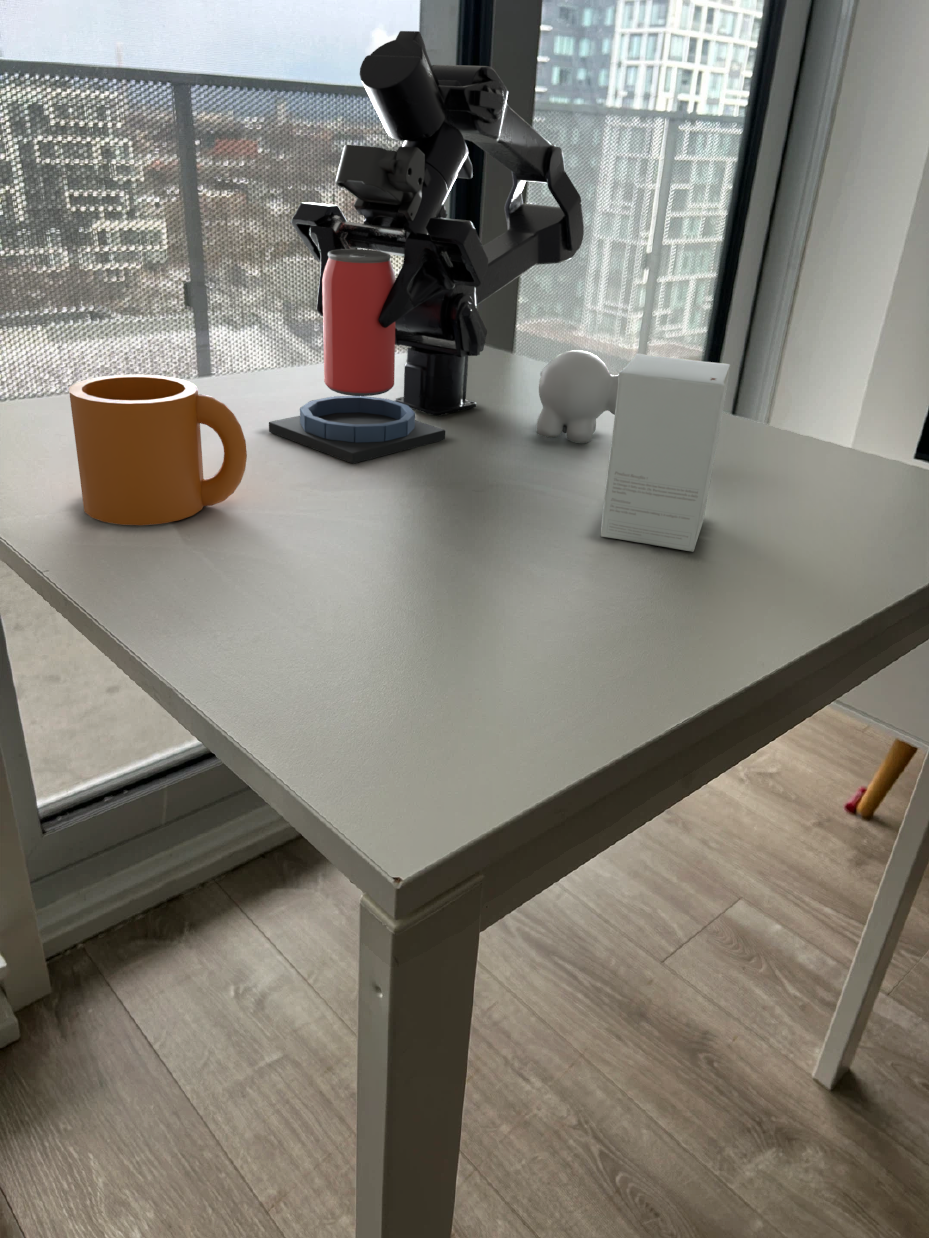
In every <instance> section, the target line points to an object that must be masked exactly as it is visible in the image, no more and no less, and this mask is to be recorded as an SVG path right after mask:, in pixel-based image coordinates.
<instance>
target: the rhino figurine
mask: <svg viewBox="0 0 929 1238" xmlns="http://www.w3.org/2000/svg"><path fill="white" fill-rule="evenodd" d="M539 375H540V379H539V381H538V395H539V400H540V403H541V405H542V407H541V410H540V412H539V415H538V417H537V418H538V419H537V421H536V429H535V430H536V433H537V435H538V436H540V437H544V438H557V437H561V436H562V434H563V433H564V434H565V436H566V439H567V440H568V441H570V442H572V443H575V444H588V443H590V442H591V441H593V436H594V433H595V431H596V427H597V419H598V418H599V417H600V416H602V414H603V413H604V412H606V411H608V412H610V413H611V414H612V415H614V416H615V409H616V400H617V391H618V377H619V373H618V374H612V373H611V372H610V370H609V369H608V366H607V365H606V363H605V362H604V361H603V360H602V359H601V358H600V357H598V356H597V355H595V354H594V353H592V352H589V351H587V350H586V351H585V350H581V349H574V350H568V351H564V352H561V353H559V354H557V355H556V356H555V357H553V358H552V359H551V360H550V361H549V362H548V363H546V365H545V366H544V367H543V368H542V369H541V371H540V373H539Z"/></svg>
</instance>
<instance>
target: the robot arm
mask: <svg viewBox="0 0 929 1238" xmlns="http://www.w3.org/2000/svg"><path fill="white" fill-rule="evenodd" d="M427 52H428V51H427V49H426V43H425V41H424V39H423V36H422V34H421V31H417V30H400V31H399V32H398V34H397V35H396V37H395V39H393V40H391V41H388V42H385V43H384V44H382V45H380V46H378V47H377V48H375V50H374V51H372V52H371V53H370V54H368V55H366V56H365V57H364V59H363V60H362V62H361V64H360V68H359V77H360V80H361V83H362V85H363V87H364V89H365V91H366V93H367V95H368V97H369V99H370V101H371V104H372V105H373V108H374V109H375V111H376V114H377V115H378V117H379V120H380V121H381V124H382V126H383V128H384V130H385V132H386V133H387V136H389V137H391V139H393V140H395V141H401V142H403V144H402V145H401V146H398V148H397V150H393V149H392V150H390V149H385V148H382V147H378V146H368V145H358V144H357V145H356V144H345V145H344V146H343V149H342V153H341V158H340V162H339V166H338V169H337V174H336V177H335V181H334V182H335V184H336V186H337V187H339V188H343V189H345V190H346V191H347V192H349V193H350V194H351V195H352V196H353V197H355V198H356V200H355V201H354V203H353V208H354V209H355V211H356V213H357V214H358V215H359V216H363V218H364V221H363V223H361V222H354V221H348V220H347V218H346V217H345V215H344V213H343V212H342V210H341V208H340V207H339V205H338V204H337V205H336V204H329V203H319V202H312V201H308V202H300V204H299V205H298V207H297V208H296V211H295V212H294V214H293V216H292V218H291V220H290V224H291V226H292V227H293V229H294V230H295V231H296V233H297V234H298V236H299V237H300V239H301V241H302V242H303V243H304V245H305V247H306V248H307V249H308V251H309V252H310V254H311V256H312V257H313V258H314V260H316V261H317V262H318V263H320V272H319V280H318V282H319V283H318V290H317V301H316V311H317V313H318V314H319V316H320V317H323V288H322V279H323V274H324V270H325V267H326V264H327V261H328V258H329V256H328V252H329V251H332V250H339V249H365V250H375V251H382V252H386V253H388V254H390V255H391V256H398V257H403V260H402V261H403V262H402V266H401V268H400V269H399V272H398V274H397V276H396V277H395V279H396V280H395V282H394V284H393V286H392V288H391V290H390V293H389V295H388V297H387V299H386V301H385V303H384V305H383V308H382V310H381V313H380V316H379V319H378V321H379V323H380V325H381V326H382V327H384V328H387V327H388V326H390V325H391V324H392V323H394V322H395V346H403V347H407V348H406V363H405V364H404V370H403V371H404V372H403V373H404V374H403V375H404V376H403V396H401V397H397V398H394V401H396V402H399V403H402V404H405V405H408V406H409V407H410V408H411V409H412V410H415V411H419V412H422V413H424V414H428V415H432V416H436V417H441V416H443V415H449V414H452V413H458V412H461V411H466V410H470V409H474V408H476V407H477V402H476V401H473V400H469V399H467V388H468V387H467V385H468V372H469V371H468V370H469V369H468V368H469V357H477V356H480V355H481V352H483V351H484V349H485V345H486V339H487V336H488V329H487V326H486V325H485V323H484V321H483V319H482V316H481V314H480V312H479V311H478V309H477V306H478V305H479V304H481V303H483V302H484V301H485V300H487V299H489V298H490V297H491V296H493V295H494V294H495V293H497V292H498V291H500V290H501V289H503V288H504V287H506V286H507V285H508V284H510V283H512V282H513V281H514V280H516V279H517V278H519V277H520V276H522V275H523V274H524V273H526V272H527V271H529V270H530V269H532V268H533V267H535V266H539V265H553V264H561V263H564V262H568V261H569V260H572V259H573V257H574V256H575V255H576V253H577V252H578V251H579V249H580V248H581V247H582V244H583V240H584V233H585V229H584V228H585V226H584V215H583V206H582V197H581V195H580V194H579V191H578V189H577V188H576V186H575V185H574V183H573V181H572V180H571V179H570V177H569V175H568V174H567V172H566V169H565V168H566V167H565V159H564V151H563V149H562V148H561V147H559V146H556V144H555V143H551V142H550V141H549V140H547V139H546V138H545V137H544V136H543V135H542V134H541V133H540V132H538V131H537V130H536V129H535V128H534V127H533V126H532V125H531V124H529V123H528V122H527V121H526V120H525V119H524V118H523V117H521V116H520V115H519V114H518V113H517V112H516V111H515V110H513V108H511V107H510V105H509V104H508V102H507V100H508V95H509V90H508V88H507V86H506V85H505V84H504V82H503V80H502V79H501V78H500V76H499V75H498V73H497V71H496V70H495V69H494V67H491V66H487V65H460V64H459V65H458V64H432V62H431V60H430V57H429V55H428V53H427ZM466 141H469V142H472V143H473V144H475V145H476V146H477V147H479V148H480V149H481V150H483V152H484V153H487V154H488V155H489V156H490V157H492V158H493V159H495V160H496V161H497V162H498V163H500V164H501V165H503V166H504V168H506V169H508V170H509V171H510V172H511V177H512V187H511V189H510V192H509V194H508V197H507V199H506V201H505V204H504V214H505V219H506V220H505V221H506V225H507V230H506V231H505V232H503V233H501V234H500V235H498V236H496V237H495V238H493V239H492V240H490V241H488V242H487V243H485V244H484V245H483V244H482V242H481V240H480V237H479V234H478V232H477V230H476V228H475V225H474V223H473V222H472V220H466V219H458V218H457V219H455V218H449V217H447V216H448V214H449V213H448V211H447V209H446V206H445V205H444V203H445V202H446V200H447V197H448V195H449V193H450V191H451V190H452V187H453V185H454V183H455V181H456V179H467V180H471V179H472V178H473V176H474V175H473V173H474V172H473V169H474V168H473V164H472V161H471V159H470V150H469V148H468V146H467V143H466ZM526 182H532V183H540V184H541V183H543V184H547V188H548V191H549V193H550V194H551V195H552V197H553V199H554V201H555V202H556V203H557V205H558V206H553V205H545V204H543V205H542V204H534V203H524V201H523V193H522V192H523V190H524V187H525V185H526Z"/></svg>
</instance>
